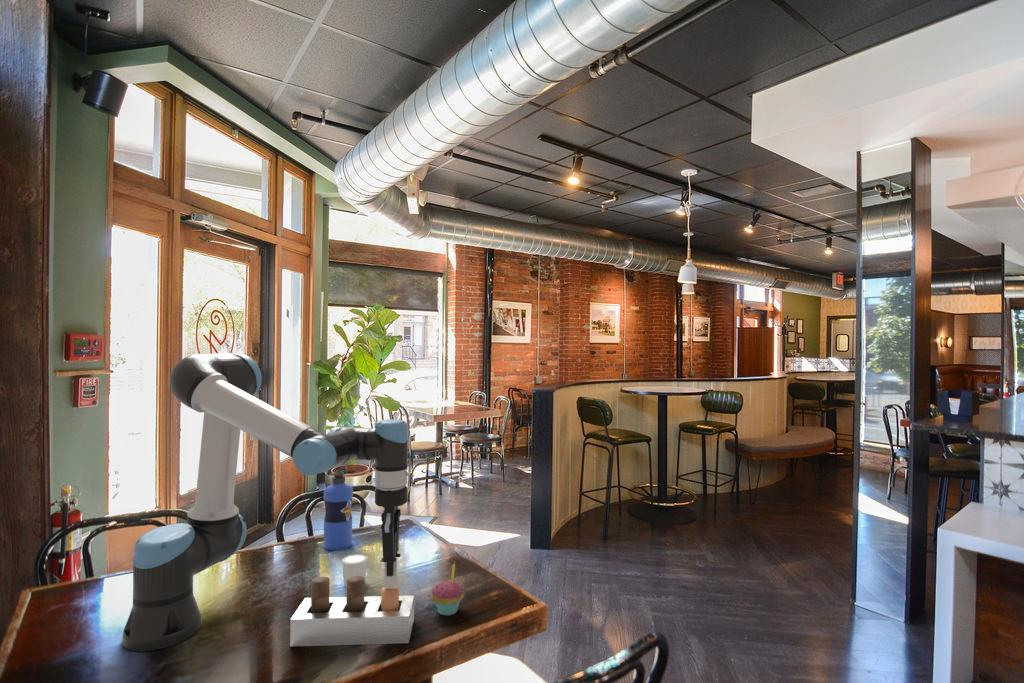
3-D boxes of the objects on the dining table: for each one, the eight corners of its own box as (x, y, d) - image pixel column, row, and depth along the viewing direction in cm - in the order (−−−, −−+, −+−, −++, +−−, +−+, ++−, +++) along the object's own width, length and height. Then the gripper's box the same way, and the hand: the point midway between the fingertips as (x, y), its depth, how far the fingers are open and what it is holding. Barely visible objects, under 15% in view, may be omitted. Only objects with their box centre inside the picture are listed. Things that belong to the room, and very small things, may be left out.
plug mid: (344, 614, 121) (344, 583, 121) (348, 605, 125) (348, 576, 125) (362, 613, 121) (362, 583, 121) (365, 605, 125) (366, 575, 125)
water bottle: (317, 549, 173) (318, 473, 173) (331, 539, 182) (332, 466, 182) (344, 551, 171) (345, 474, 172) (357, 541, 180) (358, 468, 181)
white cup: (359, 590, 144) (360, 564, 145) (336, 587, 146) (337, 562, 146) (371, 579, 151) (371, 554, 151) (349, 577, 153) (349, 552, 153)
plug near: (308, 615, 120) (308, 584, 120) (313, 606, 124) (314, 576, 124) (326, 614, 121) (326, 584, 121) (331, 606, 125) (331, 576, 125)
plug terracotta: (379, 623, 121) (380, 592, 121) (382, 614, 125) (383, 584, 125) (397, 622, 122) (397, 592, 122) (399, 614, 126) (400, 584, 126)
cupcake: (450, 599, 139) (451, 554, 140) (471, 611, 133) (472, 563, 133) (423, 611, 133) (424, 563, 134) (444, 623, 127) (444, 573, 127)
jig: (290, 646, 117) (290, 619, 117) (304, 623, 127) (305, 597, 127) (408, 643, 119) (408, 616, 119) (413, 620, 129) (414, 595, 129)
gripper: (403, 493, 118) (403, 600, 117) (411, 479, 131) (410, 575, 130) (369, 494, 117) (368, 601, 117) (380, 479, 130) (379, 576, 130)
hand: (390, 587), depth 124 cm, fingers closed
